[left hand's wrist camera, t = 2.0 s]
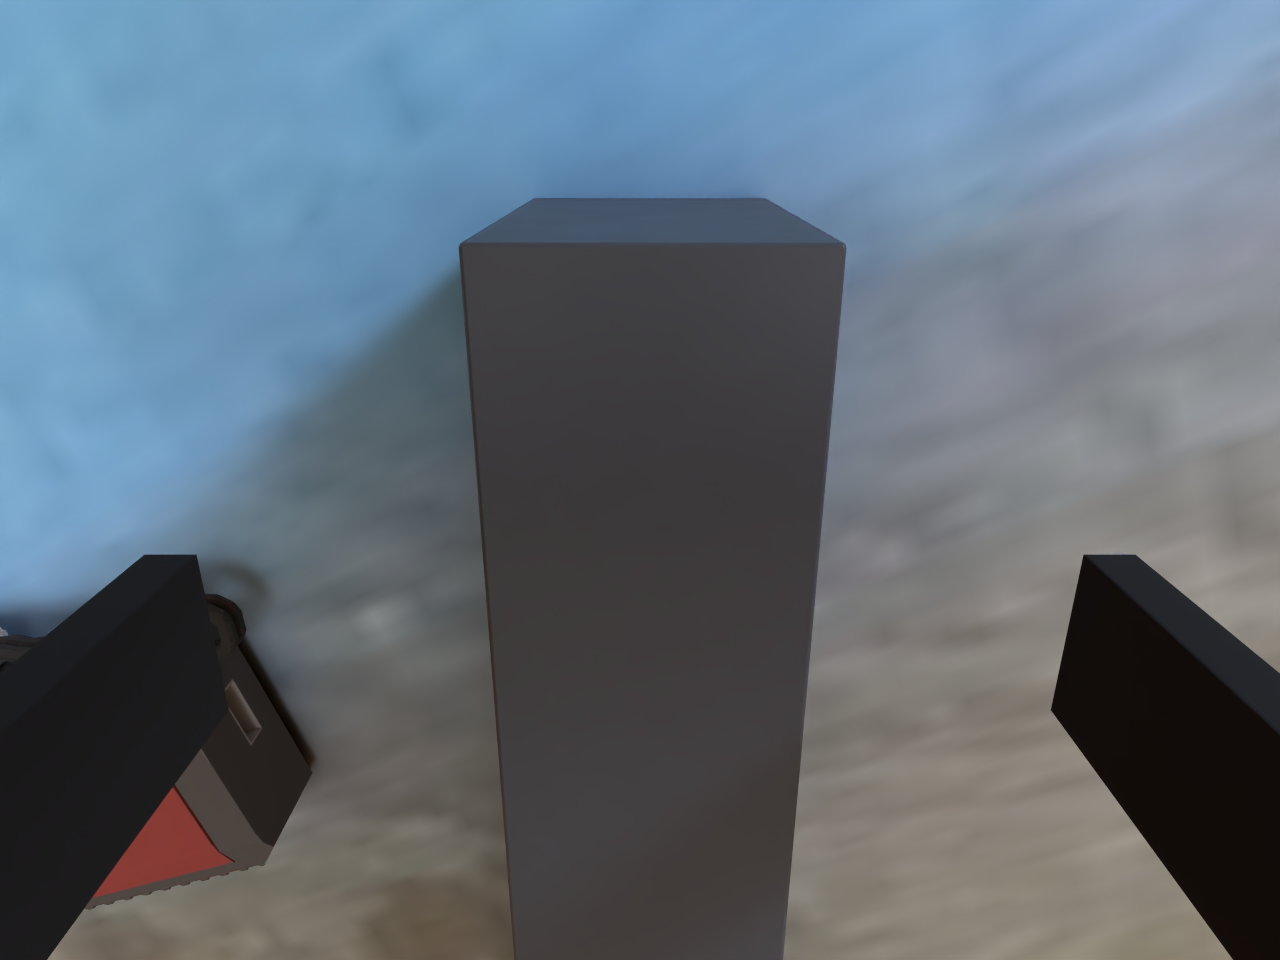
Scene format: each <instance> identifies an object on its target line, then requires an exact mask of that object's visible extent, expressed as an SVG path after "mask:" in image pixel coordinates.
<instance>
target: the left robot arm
mask: <svg viewBox="0 0 1280 960" xmlns="http://www.w3.org/2000/svg"><path fill="white" fill-rule="evenodd" d="M228 711H229V707H228V703H227V698H226V693H225V688H224V684H223V679H222V674H221V669H220V665H219V660H218V655H217V650H216V646H215V641H214V636H213V631H212V627H211V622H210V617H209V612H208V608H207V603H206V598H205V593H204V589H203V584H202V579H201V574H200V570H199V565H198V560H197V555H144V556H142V557H141V558H140V559H139V560H138V561H136V562H135V563H134V564H133V565H132V566H130V567H129V568H128V569H127V570H125V571H124V572H123V573H122V574H121V575H119V576H118V577H117V578H116V579H115V580H113V581H112V582H111V583H110V584H108V585H107V586H106V587H105V588H104V589H102V590H101V591H100V592H99V593H98V594H96V595H95V596H94V597H93V598H91V599H90V600H89V601H88V602H87V603H85V604H84V605H83V606H82V607H80V608H79V609H78V610H77V611H76V612H74V613H73V614H72V615H71V616H70V617H68V618H67V619H66V620H65V621H63V622H62V623H61V624H60V625H59V626H57V627H56V628H55V629H54V630H53V631H51V632H50V633H49V634H48V635H46V636H45V637H44V638H43V639H42V640H40V641H39V642H38V643H37V644H36V645H34V646H33V647H32V648H31V649H29V650H28V651H27V652H26V653H25V654H23V655H22V656H21V657H20V658H18V659H17V660H16V661H15V662H14V663H12V664H11V665H10V666H9V667H8V668H6V669H5V670H4V671H3V672H1V673H0V960H47V959H48V957H49V956H50V955H51V953H52V952H53V951H54V949H55V948H56V946H57V945H58V944H59V942H60V941H61V940H62V938H63V937H64V935H65V934H66V933H67V931H68V930H69V929H70V927H71V926H72V925H73V923H74V922H75V920H76V919H77V918H78V916H79V915H80V914H81V912H82V911H83V909H84V908H85V907H86V905H87V904H88V903H89V901H90V900H91V898H92V897H93V896H94V894H95V893H96V892H97V890H98V889H99V888H100V886H101V885H102V883H103V882H104V881H105V879H106V878H107V877H108V875H109V874H110V872H111V871H112V870H113V868H114V867H115V866H116V864H117V863H118V862H119V860H120V859H121V857H122V856H123V855H124V853H125V852H126V851H127V849H128V848H129V846H130V845H131V844H132V842H133V841H134V840H135V838H136V837H137V835H138V834H139V833H140V831H141V830H142V829H143V827H144V826H145V825H146V823H147V822H148V820H149V819H150V818H151V816H152V815H153V814H154V812H155V811H156V809H157V808H158V807H159V805H160V804H161V803H162V801H163V800H164V798H165V797H166V796H167V794H168V793H169V792H170V790H171V789H172V788H173V786H174V785H175V783H176V782H177V781H178V779H179V778H180V777H181V775H182V774H183V772H184V771H185V770H186V768H187V767H188V766H189V764H190V763H191V762H192V760H193V759H194V757H195V756H196V755H197V753H198V752H199V751H200V749H201V748H202V746H203V745H204V744H205V742H206V741H207V740H208V738H209V737H210V735H211V734H212V733H213V731H214V730H215V729H216V727H217V726H218V725H219V723H220V722H221V720H222V719H223V718H224V716H225V715H226V714H227V712H228ZM1051 711H1052V712H1053V714H1054V715H1055V716H1056V718H1057V719H1058V720H1059V722H1060V723H1061V725H1062V726H1063V727H1064V729H1065V730H1066V731H1067V733H1068V734H1069V735H1070V737H1071V738H1072V740H1073V741H1074V742H1075V744H1076V745H1077V746H1078V748H1079V749H1080V751H1081V752H1082V753H1083V755H1084V756H1085V757H1086V759H1087V760H1088V762H1089V763H1090V764H1091V766H1092V767H1093V768H1094V770H1095V771H1096V772H1097V774H1098V775H1099V777H1100V778H1101V779H1102V781H1103V782H1104V783H1105V785H1106V786H1107V788H1108V789H1109V790H1110V792H1111V793H1112V794H1113V796H1114V797H1115V798H1116V800H1117V801H1118V803H1119V804H1120V805H1121V807H1122V808H1123V809H1124V811H1125V812H1126V814H1127V815H1128V816H1129V818H1130V819H1131V820H1132V822H1133V823H1134V825H1135V826H1136V827H1137V829H1138V830H1139V831H1140V833H1141V834H1142V835H1143V837H1144V838H1145V840H1146V841H1147V842H1148V844H1149V845H1150V846H1151V848H1152V849H1153V851H1154V852H1155V853H1156V855H1157V856H1158V857H1159V859H1160V860H1161V862H1162V863H1163V864H1164V866H1165V867H1166V868H1167V870H1168V871H1169V872H1170V874H1171V875H1172V877H1173V878H1174V879H1175V881H1176V882H1177V883H1178V885H1179V886H1180V888H1181V889H1182V890H1183V892H1184V893H1185V894H1186V896H1187V897H1188V898H1189V900H1190V901H1191V903H1192V904H1193V905H1194V907H1195V908H1196V909H1197V911H1198V912H1199V914H1200V915H1201V916H1202V918H1203V919H1204V920H1205V922H1206V923H1207V925H1208V926H1209V927H1210V929H1211V930H1212V931H1213V933H1214V934H1215V935H1216V937H1217V938H1218V940H1219V941H1220V942H1221V944H1222V945H1223V946H1224V948H1225V949H1226V951H1227V952H1228V953H1229V955H1230V956H1231V957H1232V959H1233V960H1280V673H1279V672H1277V671H1276V670H1275V669H1274V668H1272V667H1271V666H1270V665H1269V664H1268V663H1266V662H1265V661H1264V660H1263V659H1262V658H1260V657H1259V656H1258V655H1257V654H1255V653H1254V652H1253V651H1252V650H1251V649H1249V648H1248V647H1247V646H1246V645H1244V644H1243V643H1242V642H1241V641H1240V640H1238V639H1237V638H1236V637H1235V636H1234V635H1232V634H1231V633H1230V632H1229V631H1227V630H1226V629H1225V628H1224V627H1223V626H1221V625H1220V624H1219V623H1218V622H1217V621H1215V620H1214V619H1213V618H1212V617H1210V616H1209V615H1208V614H1207V613H1206V612H1204V611H1203V610H1202V609H1201V608H1200V607H1198V606H1197V605H1196V604H1195V603H1193V602H1192V601H1191V600H1190V599H1189V598H1187V597H1186V596H1185V595H1184V594H1182V593H1181V592H1180V591H1179V590H1178V589H1176V588H1175V587H1174V586H1173V585H1172V584H1170V583H1169V582H1168V581H1167V580H1165V579H1164V578H1163V577H1162V576H1161V575H1159V574H1158V573H1157V572H1156V571H1155V570H1153V569H1152V568H1151V567H1150V566H1148V565H1147V564H1146V563H1145V562H1144V561H1142V560H1141V559H1140V558H1139V557H1138V556H1136V555H1083V560H1082V565H1081V570H1080V574H1079V579H1078V584H1077V589H1076V593H1075V598H1074V603H1073V608H1072V612H1071V617H1070V622H1069V627H1068V631H1067V636H1066V641H1065V646H1064V650H1063V655H1062V660H1061V665H1060V669H1059V674H1058V679H1057V684H1056V688H1055V693H1054V698H1053V703H1052V707H1051Z"/></svg>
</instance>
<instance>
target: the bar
mask: <svg viewBox="0 0 1280 960" xmlns="http://www.w3.org/2000/svg"><path fill="white" fill-rule="evenodd" d="M459 257H460V269H461V282H462V295H463V308H464V320H465V333H466V346H467V359H468V371H469V384H470V397H471V409H472V422H473V435H474V448H475V460H476V473H477V486H478V499H479V511H480V524H481V537H482V550H483V562H484V575H485V588H486V601H487V613H488V626H489V639H490V652H491V664H492V677H493V690H494V703H495V715H496V728H497V741H498V753H499V766H500V779H501V792H502V804H503V817H504V830H505V843H506V855H507V868H508V881H509V894H510V906H511V919H512V932H513V945H514V957H515V960H783V951H784V940H785V928H786V917H787V906H788V895H789V884H790V872H791V861H792V850H793V839H794V828H795V817H796V805H797V794H798V783H799V772H800V761H801V749H802V738H803V727H804V716H805V705H806V693H807V682H808V671H809V660H810V649H811V638H812V626H813V615H814V604H815V593H816V582H817V570H818V559H819V548H820V537H821V526H822V514H823V503H824V492H825V481H826V470H827V459H828V447H829V436H830V425H831V414H832V403H833V391H834V380H835V369H836V358H837V347H838V335H839V324H840V313H841V302H842V291H843V280H844V268H845V257H846V245H845V244H844V243H842V242H841V241H839V240H837V239H835V238H834V237H832V236H830V235H828V234H827V233H825V232H823V231H821V230H820V229H818V228H816V227H814V226H813V225H811V224H809V223H807V222H806V221H804V220H802V219H800V218H799V217H797V216H795V215H793V214H792V213H790V212H788V211H786V210H785V209H783V208H781V207H780V206H778V205H776V204H774V203H773V202H771V201H769V200H767V199H541V198H535V199H533V200H531V201H529V202H528V203H526V204H524V205H523V206H521V207H519V208H518V209H516V210H515V211H513V212H511V213H510V214H508V215H506V216H505V217H503V218H501V219H500V220H498V221H496V222H495V223H493V224H492V225H490V226H488V227H487V228H485V229H483V230H482V231H480V232H478V233H477V234H475V235H474V236H472V237H470V238H469V239H467V240H465V241H464V242H462V243H460V245H459Z"/></svg>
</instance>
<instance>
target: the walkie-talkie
mask: <svg viewBox="0 0 1280 960" xmlns="http://www.w3.org/2000/svg"><path fill="white" fill-rule="evenodd" d="M205 598H206V603H207V608H208V612H209V617H210V622H211V627H212V631H213V636H214V641H215V646H216V650H217V655H218V660H219V665H220V669H221V674H222V679H223V684H224V688H225V693H226V698H227V703H228V707H229V711H228V712H227V714H226V715H225V716H224V718H223V719H222V720H221V722H220V723H219V725H218V726H217V727H216V729H215V730H214V731H213V733H212V734H211V735H210V737H209V738H208V740H207V741H206V742H205V744H204V745H203V746H202V748H201V749H200V751H199V752H198V753H197V755H196V756H195V757H194V759H193V760H192V762H191V763H190V764H189V766H188V767H187V768H186V770H185V771H184V772H183V774H182V775H181V777H180V778H179V779H178V781H177V782H176V783H175V785H174V786H173V788H172V789H171V790H170V792H169V793H168V794H167V796H166V797H165V798H164V800H163V801H162V803H161V804H160V805H159V807H158V808H157V809H156V811H155V812H154V814H153V815H152V816H151V818H150V819H149V820H148V822H147V823H146V825H145V826H144V827H143V829H142V830H141V831H140V833H139V834H138V835H137V837H136V838H135V840H134V841H133V842H132V844H131V845H130V846H129V848H128V849H127V851H126V852H125V853H124V855H123V856H122V857H121V859H120V860H119V862H118V863H117V864H116V866H115V867H114V868H113V870H112V871H111V872H110V874H109V875H108V877H107V878H106V879H105V881H104V882H103V883H102V885H101V886H100V888H99V889H98V890H97V892H96V893H95V894H94V896H93V897H92V898H91V900H90V901H89V903H88V904H87V905H86V907H85V908H84V909H93V908H95V907H96V906H98V905H101V904H106V905H109V904H113V903H114V901H117V900H121V899H124V900H129V899H132V898H133V896H137V895H141V894H142V895H149V894H151V893H152V892H153V891H157V890H169V889H170V888H171V887H173V886H176V885H183V886H185V885H188V884H190V882H193V881H197V880H202V881H204V880H208V879H209V878H210V877H212V876H216V875H221V876H224V875H228V874H229V872H232V871H236V870H240V871H244V870H248V868H249V867H252V866H256V865H260V866H264V864H265V862H266V860H267V858H268V857H269V855H270V853H271V851H272V849H273V847H274V845H275V843H276V841H277V839H278V837H279V836H280V834H281V832H282V830H283V828H284V826H285V824H286V822H287V820H288V818H289V816H290V814H291V813H292V811H293V809H294V807H295V805H296V803H297V801H298V799H299V797H300V795H301V793H302V791H303V790H304V788H305V786H306V784H307V782H308V780H309V778H310V776H311V774H312V771H311V770H310V768H309V766H308V765H307V763H306V761H305V759H304V758H303V756H302V754H301V753H300V751H299V749H298V748H297V746H296V744H295V742H294V741H293V739H292V737H291V736H290V734H289V732H288V731H287V729H286V727H285V725H284V724H283V722H282V720H281V719H280V717H279V715H278V714H277V712H276V710H275V708H274V707H273V705H272V703H271V702H270V700H269V698H268V697H267V695H266V693H265V691H264V690H263V688H262V686H261V685H260V683H259V681H258V680H257V678H256V676H255V674H254V673H253V671H252V669H251V668H250V666H249V664H248V663H247V661H246V659H245V657H244V656H243V654H242V652H241V651H240V649H239V647H238V646H237V645H238V644H239V643H240V642H241V641H242V640H243V638H244V635H245V632H246V626H245V623H244V619H243V615H242V612H241V610H240V609H239V607H238V606H237V605H236V604H235V603H234V602H233V601H231V600H228V599H226V598H224V597H222V596H220V595H217V594H205ZM43 638H44V637H39V638H31V637H25V636H19V635H10V636H9V635H8V633H7V632H6V630H4V629H2V628H1V627H0V673H1V672H3V671H4V670H5V669H6V668H8V667H9V666H10V665H11V664H12V663H14V662H15V661H16V660H17V659H18V658H20V657H21V656H22V655H23V654H25V653H26V652H27V651H28V650H29V649H31V648H32V647H33V646H34V645H36V644H37V643H38V642H39V641H40V640H42V639H43Z"/></svg>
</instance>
